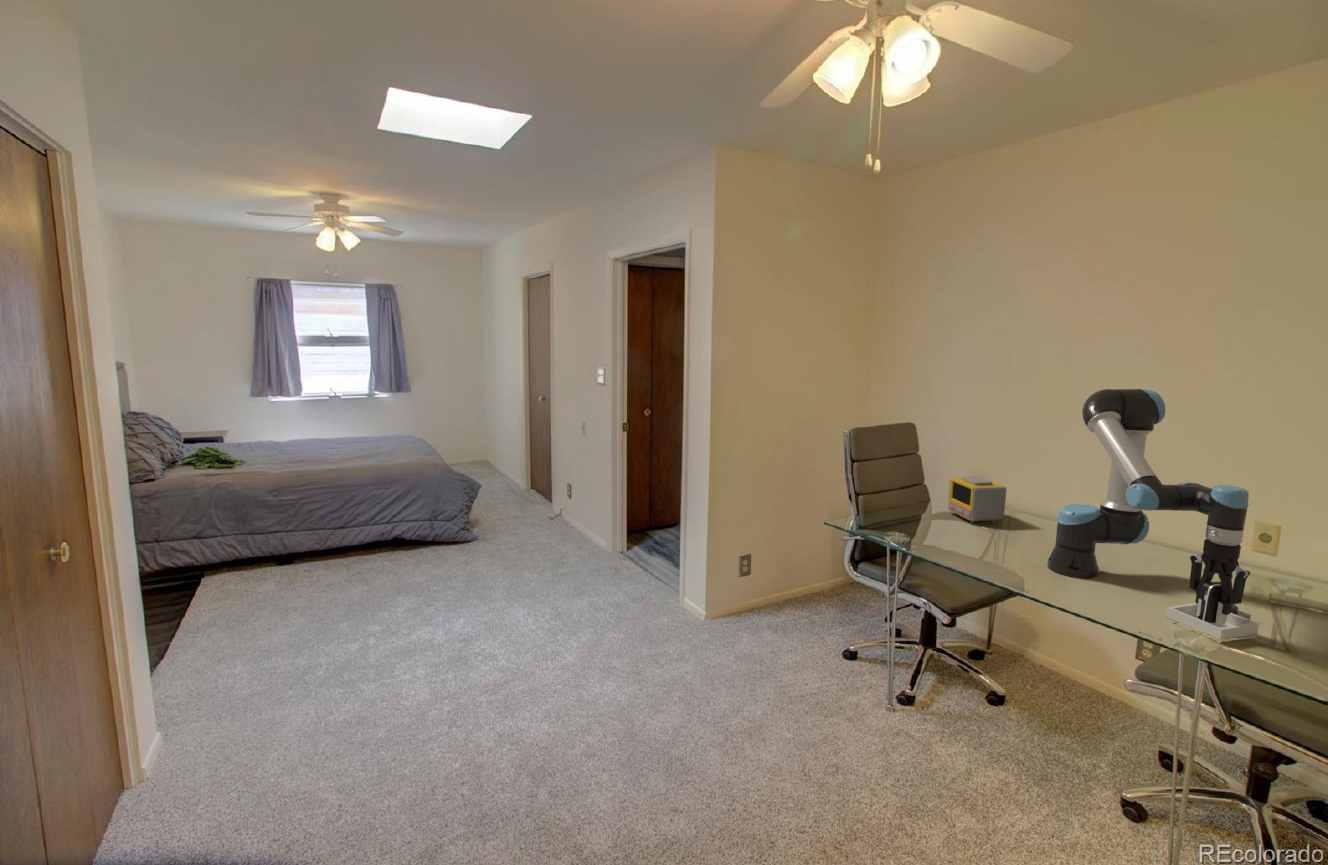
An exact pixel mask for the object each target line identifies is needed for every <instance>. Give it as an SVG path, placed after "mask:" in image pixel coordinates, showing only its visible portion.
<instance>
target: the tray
mask: <svg viewBox="0 0 1328 865" xmlns="http://www.w3.org/2000/svg"><path fill="white" fill-rule="evenodd" d="M1197 608H1198V604H1196V602H1193V603H1188V604H1187V603H1185V604H1179V605H1174V606H1169V607H1168V606H1167V607H1166V611H1165V618H1167V619H1169V620H1172V621H1174V622H1176V623H1181V624H1183V625H1185V626H1188V627H1190V628H1194V629H1197V630H1199V631H1200V632H1203V633H1206V634H1210V635H1212V636H1214V637H1216V638H1218V639H1229V638H1245V639H1244V640H1247V639H1252V638H1256V637H1258V631H1259V624H1260V623H1259V622H1256V621H1253V620H1251V619H1250V620H1248V619H1246V618H1243V617H1241V616H1238V615H1235V614H1233V613H1230V614H1228V615H1227V619H1226V622H1225V624H1221V625H1217V624H1215V623H1208V622H1205V621H1203V620H1200V619H1198V617H1197V616H1196V614H1197ZM1165 618H1164V619H1165Z"/></svg>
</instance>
